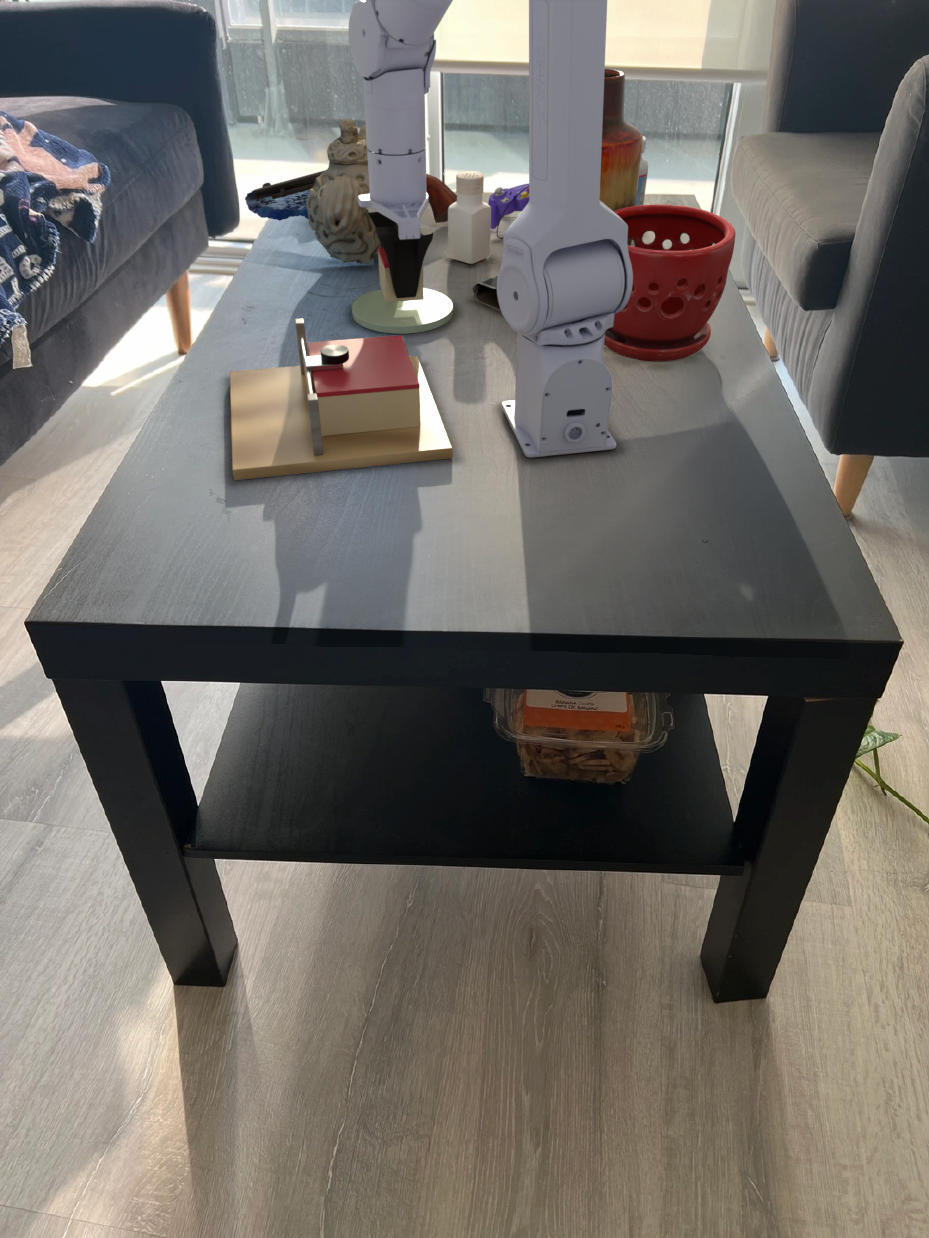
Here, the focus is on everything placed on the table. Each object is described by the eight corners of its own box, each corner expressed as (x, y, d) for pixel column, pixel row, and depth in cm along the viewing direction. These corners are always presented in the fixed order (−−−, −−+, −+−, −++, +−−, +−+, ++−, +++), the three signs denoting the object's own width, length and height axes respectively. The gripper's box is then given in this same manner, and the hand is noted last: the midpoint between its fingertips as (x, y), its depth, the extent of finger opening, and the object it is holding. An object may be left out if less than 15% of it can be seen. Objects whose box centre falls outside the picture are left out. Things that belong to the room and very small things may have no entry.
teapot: (384, 290, 105) (377, 146, 96) (287, 283, 107) (269, 140, 97) (424, 229, 121) (421, 100, 111) (338, 223, 123) (328, 95, 113)
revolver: (469, 220, 125) (441, 145, 127) (470, 202, 121) (441, 125, 123) (281, 273, 122) (255, 196, 124) (276, 256, 118) (250, 177, 121)
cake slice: (423, 300, 98) (422, 261, 95) (386, 302, 97) (384, 264, 95) (416, 282, 102) (415, 245, 99) (379, 285, 101) (377, 247, 98)
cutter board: (452, 458, 78) (452, 393, 74) (234, 480, 75) (222, 413, 71) (417, 365, 91) (415, 305, 87) (231, 381, 89) (221, 320, 85)
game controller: (467, 210, 116) (486, 171, 122) (488, 268, 122) (505, 229, 128) (542, 192, 112) (558, 153, 118) (561, 254, 118) (575, 213, 123)
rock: (334, 169, 135) (335, 183, 136) (232, 194, 127) (234, 209, 128) (396, 189, 126) (397, 204, 128) (291, 218, 118) (293, 234, 119)
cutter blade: (359, 428, 78) (355, 377, 75) (314, 433, 78) (308, 381, 75) (345, 371, 87) (341, 323, 84) (305, 375, 86) (299, 326, 83)
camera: (503, 288, 107) (504, 250, 104) (568, 316, 101) (572, 277, 98) (470, 299, 104) (471, 261, 101) (535, 328, 98) (538, 289, 95)
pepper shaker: (471, 266, 112) (472, 182, 106) (446, 259, 114) (445, 176, 107) (492, 257, 114) (494, 174, 108) (466, 250, 116) (467, 168, 110)
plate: (462, 329, 98) (462, 322, 97) (358, 337, 96) (357, 330, 96) (443, 290, 106) (443, 283, 106) (347, 297, 104) (346, 290, 104)
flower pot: (574, 321, 100) (583, 204, 92) (693, 317, 100) (713, 201, 93) (599, 376, 90) (612, 250, 82) (731, 371, 91) (757, 246, 83)
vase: (644, 275, 110) (670, 79, 97) (562, 287, 107) (577, 87, 94) (601, 245, 117) (619, 60, 104) (523, 256, 114) (532, 67, 101)
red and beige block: (420, 427, 80) (419, 384, 77) (320, 436, 79) (315, 393, 76) (403, 375, 87) (401, 334, 85) (311, 383, 86) (306, 342, 83)
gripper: (347, 131, 95) (356, 264, 104) (364, 171, 84) (373, 316, 93) (415, 128, 96) (418, 260, 105) (440, 167, 85) (442, 310, 94)
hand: (401, 286), depth 99 cm, fingers closed on cake slice, 5 cm apart
